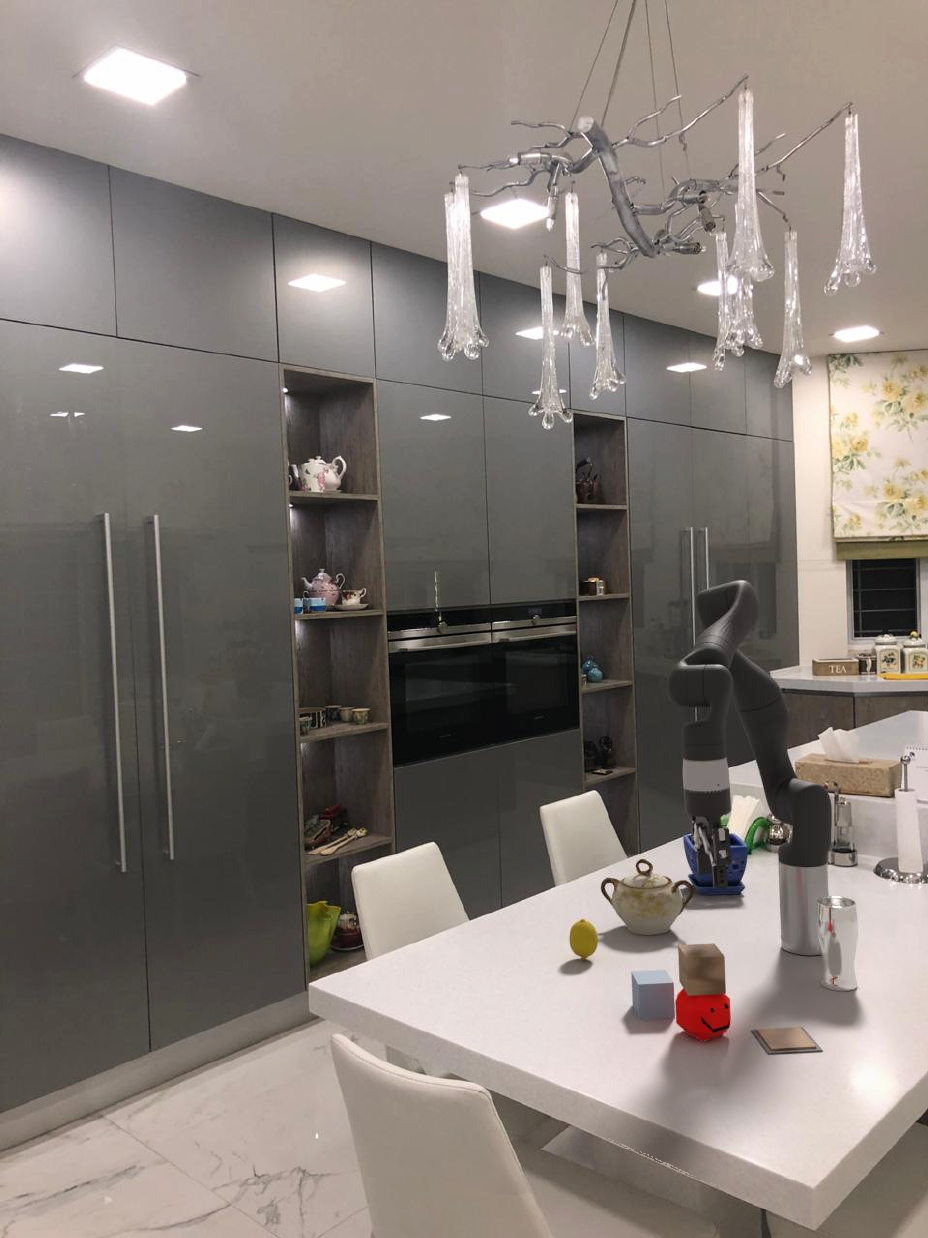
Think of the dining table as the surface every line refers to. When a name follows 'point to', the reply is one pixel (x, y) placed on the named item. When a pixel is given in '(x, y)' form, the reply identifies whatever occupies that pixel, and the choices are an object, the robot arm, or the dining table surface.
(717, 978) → the walnut cube
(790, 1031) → the walnut swatch
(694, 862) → the flower pot
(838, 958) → the beer glass
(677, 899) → the sugar bowl
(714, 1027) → the ball
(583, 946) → the lemon
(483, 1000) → the dining table surface
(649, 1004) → the slate cube
